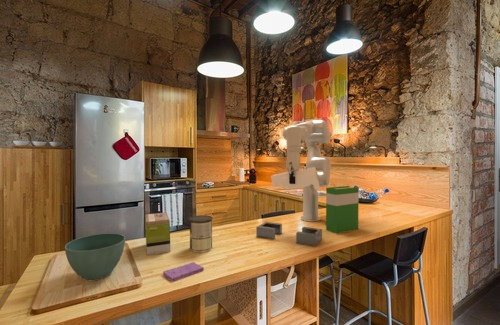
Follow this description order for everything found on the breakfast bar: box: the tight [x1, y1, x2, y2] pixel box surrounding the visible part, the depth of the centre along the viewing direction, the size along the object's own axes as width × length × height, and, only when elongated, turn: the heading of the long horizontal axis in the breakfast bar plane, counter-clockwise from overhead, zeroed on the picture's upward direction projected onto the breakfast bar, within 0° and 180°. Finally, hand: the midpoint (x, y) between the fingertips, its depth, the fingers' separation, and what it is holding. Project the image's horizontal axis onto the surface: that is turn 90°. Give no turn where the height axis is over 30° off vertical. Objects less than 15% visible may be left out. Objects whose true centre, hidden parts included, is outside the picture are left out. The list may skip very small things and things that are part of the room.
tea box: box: [144, 212, 171, 256], centre depth 117 cm, size 15×10×15 cm, turn 23°
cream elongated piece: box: [270, 167, 321, 192], centre depth 138 cm, size 6×25×13 cm, turn 62°
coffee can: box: [189, 214, 213, 254], centre depth 117 cm, size 10×10×14 cm
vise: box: [255, 221, 323, 247], centre depth 132 cm, size 12×31×5 cm, turn 62°
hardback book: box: [325, 185, 360, 235], centre depth 146 cm, size 18×7×24 cm, turn 119°
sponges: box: [162, 261, 205, 283], centre depth 93 cm, size 7×13×2 cm, turn 133°
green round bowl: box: [64, 232, 126, 281], centre depth 91 cm, size 18×18×12 cm
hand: (294, 182), depth 139 cm, fingers closed on cream elongated piece, 5 cm apart
